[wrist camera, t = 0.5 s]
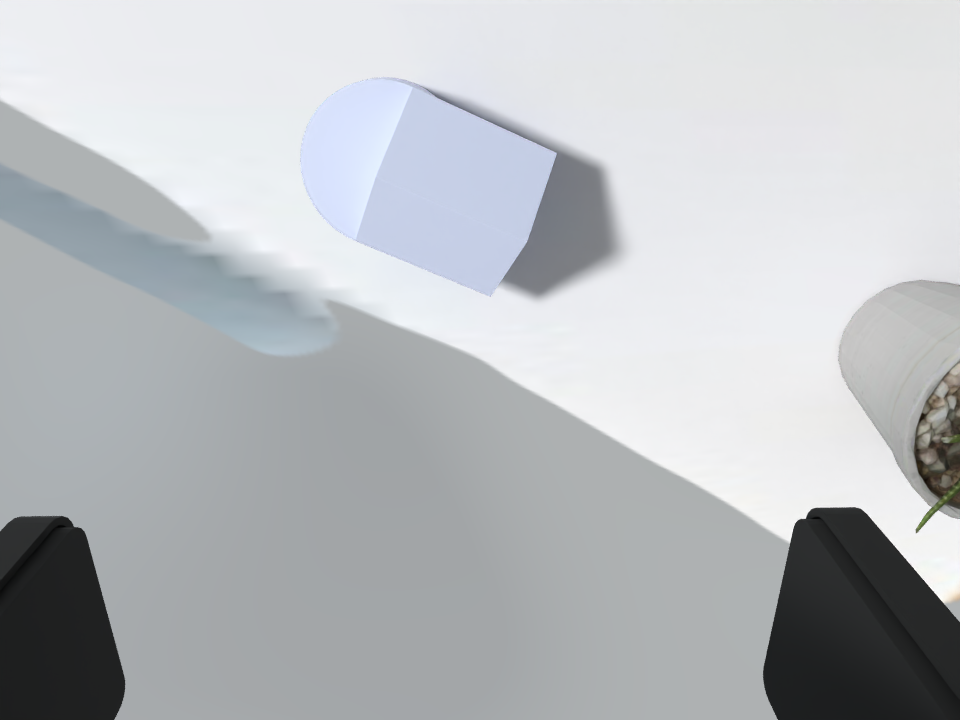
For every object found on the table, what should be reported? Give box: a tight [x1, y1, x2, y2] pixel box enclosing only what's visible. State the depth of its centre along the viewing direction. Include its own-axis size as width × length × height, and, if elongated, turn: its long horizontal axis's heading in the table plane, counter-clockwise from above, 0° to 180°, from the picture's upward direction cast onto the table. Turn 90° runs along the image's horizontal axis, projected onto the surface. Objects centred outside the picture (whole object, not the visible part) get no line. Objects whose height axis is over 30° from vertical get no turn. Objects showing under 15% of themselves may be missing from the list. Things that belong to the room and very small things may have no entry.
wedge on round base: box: [300, 77, 557, 297], centre depth 40 cm, size 9×7×13 cm
